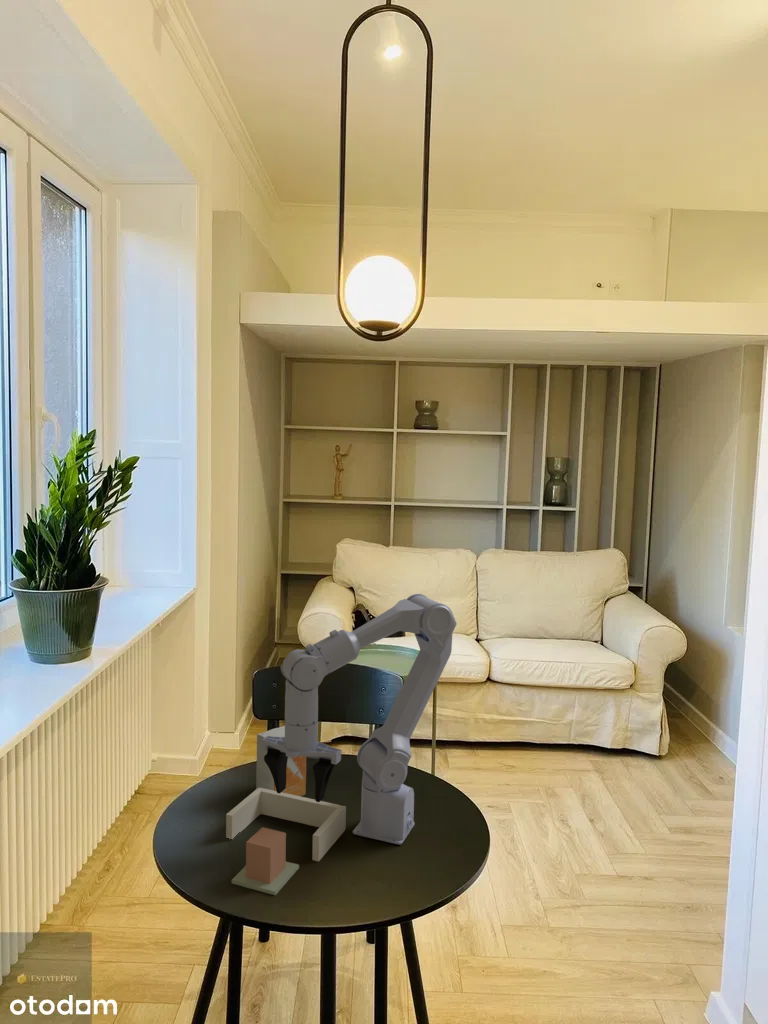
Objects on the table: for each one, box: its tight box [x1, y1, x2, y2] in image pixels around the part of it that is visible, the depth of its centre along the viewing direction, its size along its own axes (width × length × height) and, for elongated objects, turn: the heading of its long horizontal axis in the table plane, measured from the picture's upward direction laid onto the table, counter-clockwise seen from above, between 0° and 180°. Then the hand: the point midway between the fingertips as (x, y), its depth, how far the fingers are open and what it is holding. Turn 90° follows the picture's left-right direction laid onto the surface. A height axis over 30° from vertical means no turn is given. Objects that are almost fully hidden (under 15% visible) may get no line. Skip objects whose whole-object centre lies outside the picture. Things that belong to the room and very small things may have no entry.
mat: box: [231, 861, 300, 896], centre depth 120 cm, size 8×8×1 cm
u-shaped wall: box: [225, 787, 347, 862], centre depth 132 cm, size 18×11×4 cm, turn 69°
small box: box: [255, 725, 307, 797], centre depth 146 cm, size 8×6×13 cm
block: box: [245, 827, 287, 884], centre depth 119 cm, size 4×5×6 cm
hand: (300, 795), depth 128 cm, fingers open, 7 cm apart
